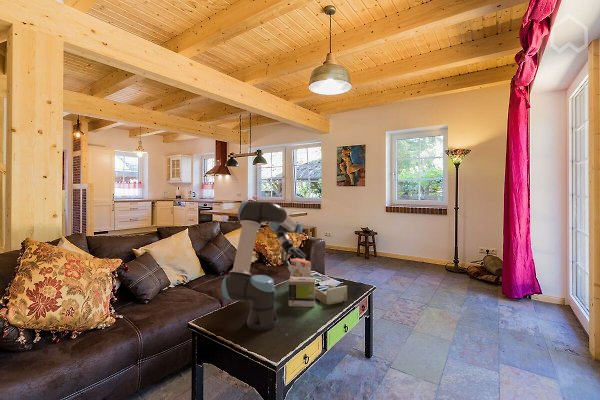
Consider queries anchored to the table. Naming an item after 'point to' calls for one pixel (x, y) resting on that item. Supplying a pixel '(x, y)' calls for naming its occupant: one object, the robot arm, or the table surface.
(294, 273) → the cracker box
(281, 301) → the table surface
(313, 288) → the tea box
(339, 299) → the book trough
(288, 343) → the table surface
